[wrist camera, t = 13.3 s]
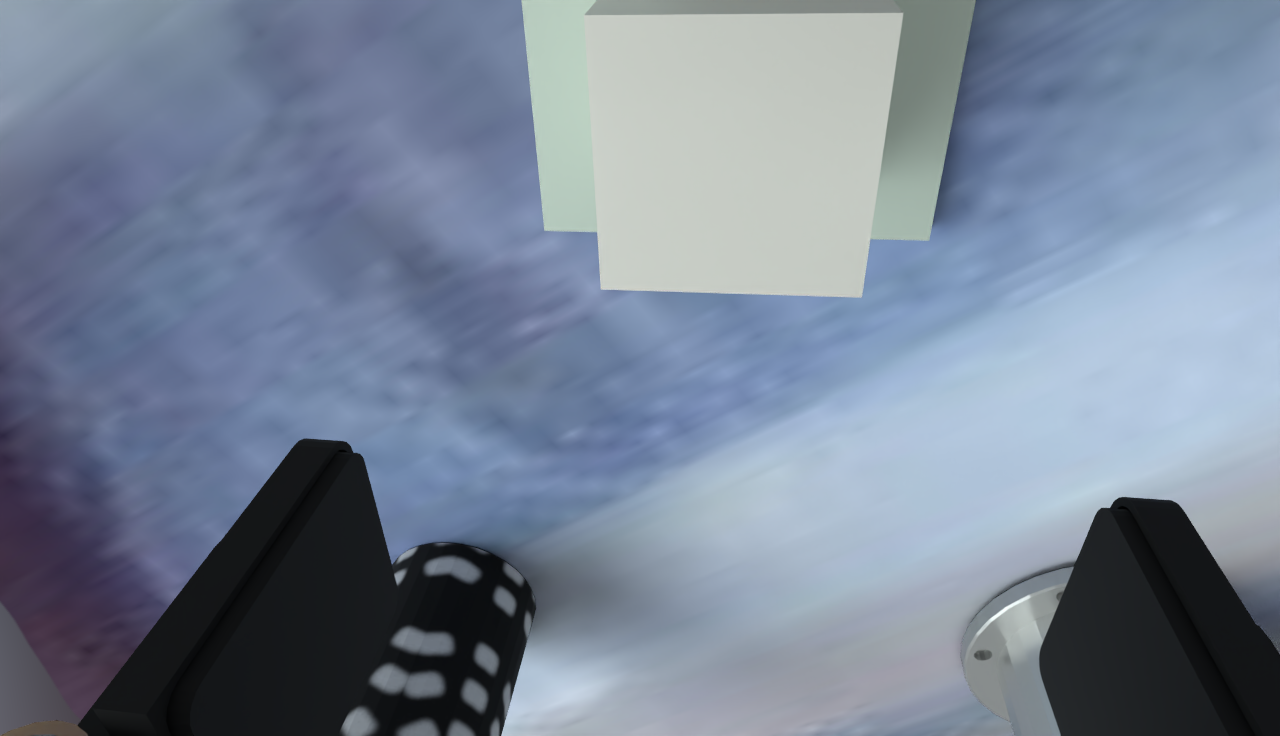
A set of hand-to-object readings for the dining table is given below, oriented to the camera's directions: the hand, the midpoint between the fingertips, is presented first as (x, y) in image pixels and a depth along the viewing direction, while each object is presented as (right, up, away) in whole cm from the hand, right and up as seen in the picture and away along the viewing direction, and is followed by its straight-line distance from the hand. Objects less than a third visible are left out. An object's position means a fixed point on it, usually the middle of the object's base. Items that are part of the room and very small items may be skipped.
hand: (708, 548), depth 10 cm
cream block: (+2, +12, +16) cm, 20 cm away
